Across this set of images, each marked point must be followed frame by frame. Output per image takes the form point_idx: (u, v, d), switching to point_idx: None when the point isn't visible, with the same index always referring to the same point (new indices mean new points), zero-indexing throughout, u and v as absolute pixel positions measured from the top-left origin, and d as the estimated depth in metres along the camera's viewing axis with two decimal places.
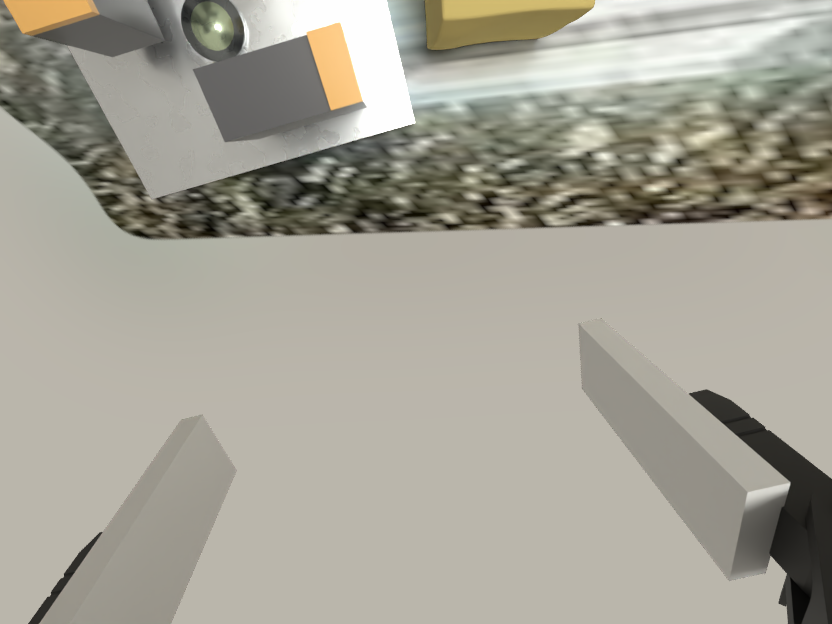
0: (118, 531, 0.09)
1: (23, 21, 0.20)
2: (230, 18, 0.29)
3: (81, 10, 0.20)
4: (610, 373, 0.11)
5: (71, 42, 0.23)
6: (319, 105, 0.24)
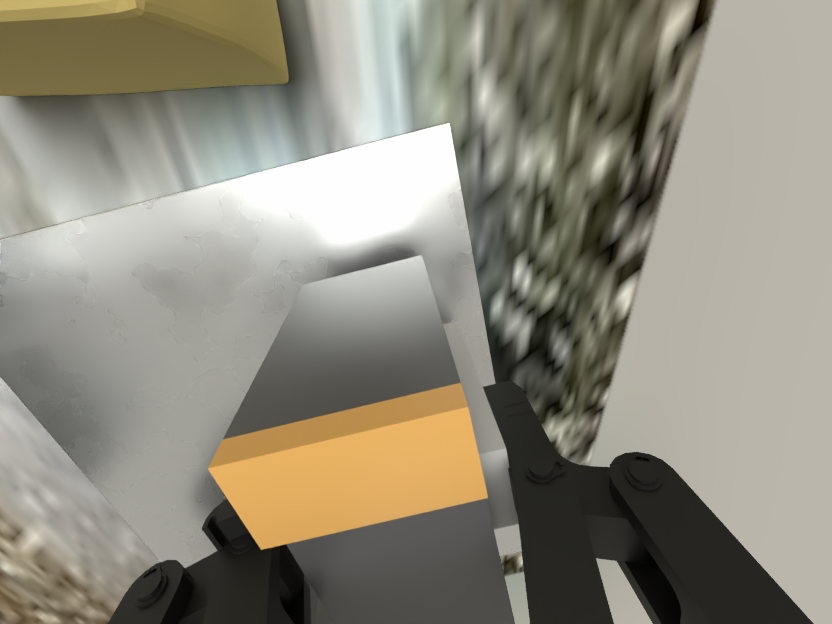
0: None
1: None
2: None
3: None
4: None
5: None
6: None
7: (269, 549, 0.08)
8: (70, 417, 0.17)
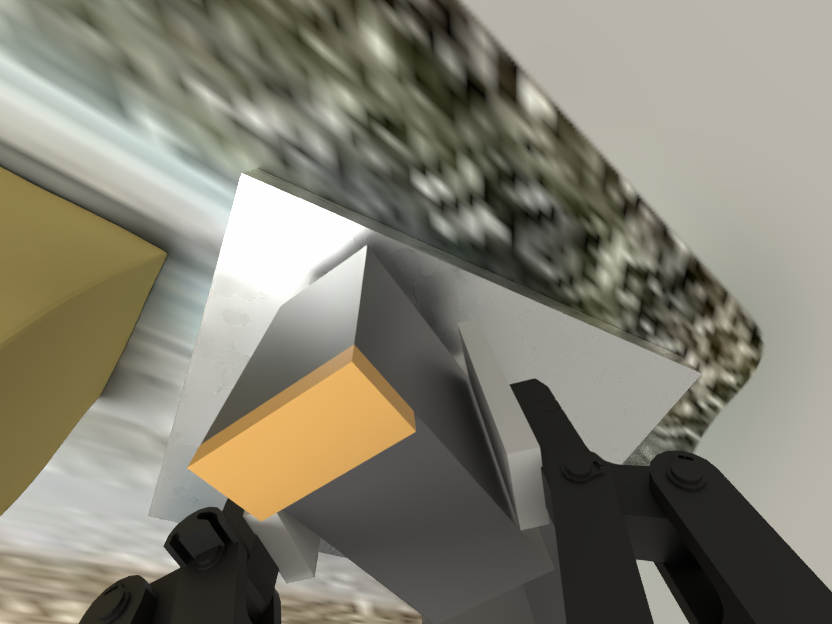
0: None
1: None
2: None
3: None
4: (470, 365, 0.13)
5: None
6: (413, 440, 0.08)
7: (235, 562, 0.08)
8: None
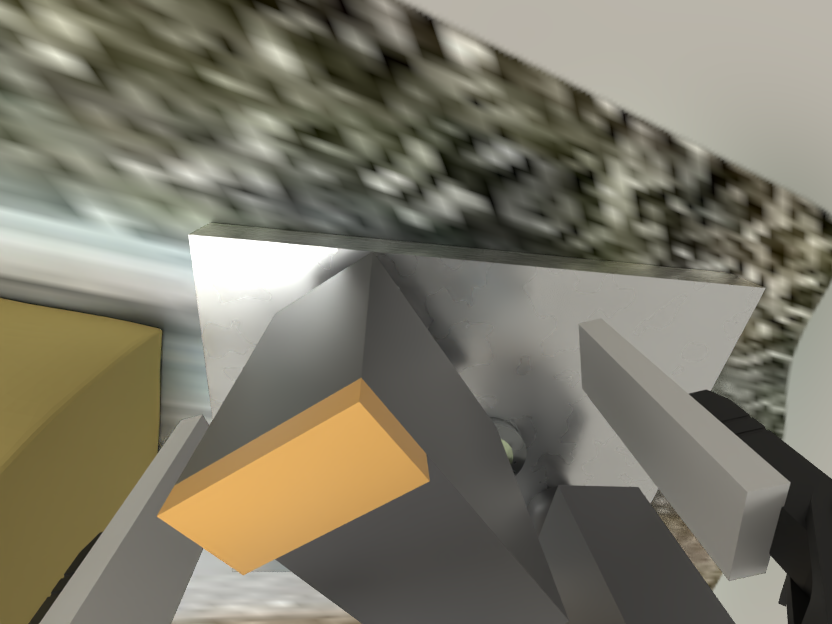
0: (118, 531, 0.09)
1: None
2: None
3: None
4: (610, 373, 0.11)
5: (700, 592, 0.14)
6: (423, 485, 0.07)
7: None
8: None
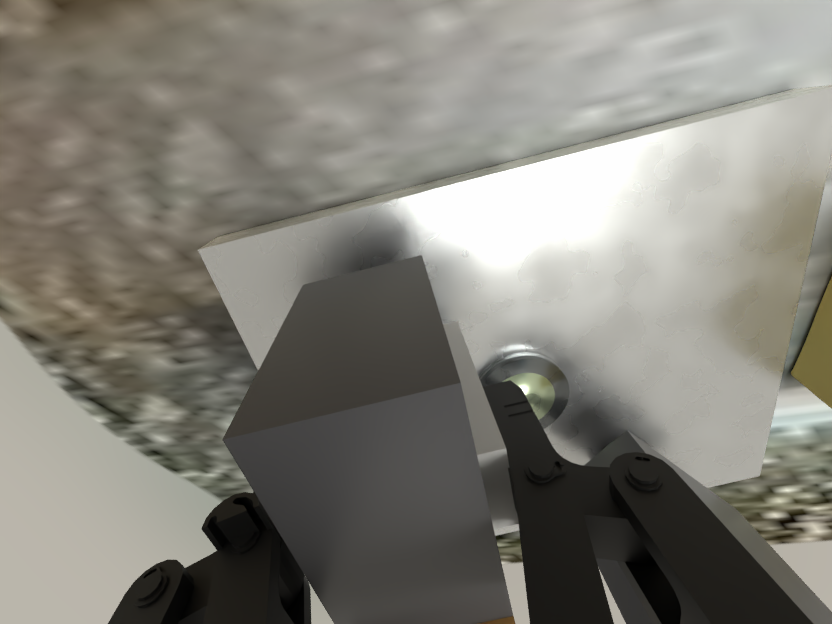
0: None
1: None
2: (554, 390, 0.18)
3: None
4: None
5: None
6: None
7: (269, 549, 0.08)
8: (633, 176, 0.14)
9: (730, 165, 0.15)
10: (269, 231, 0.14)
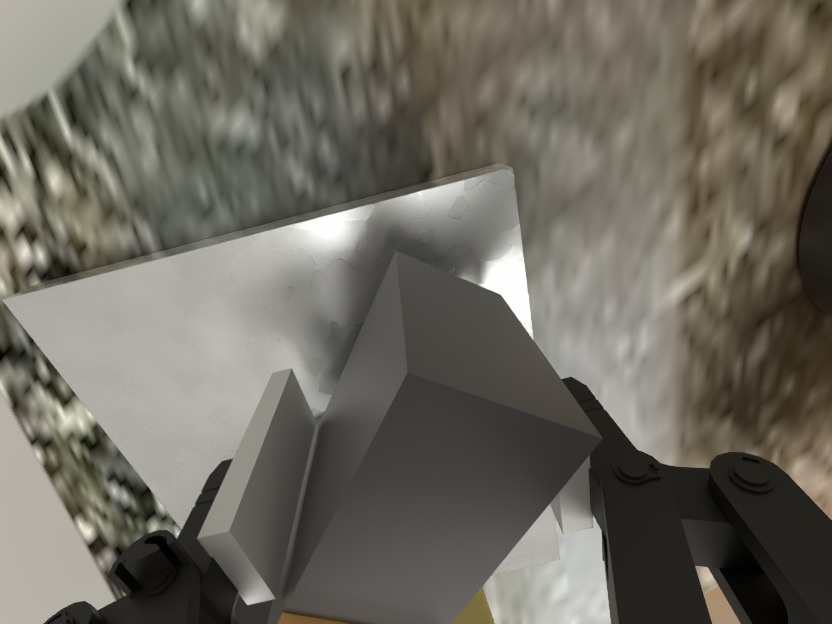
0: (249, 453, 0.11)
1: None
2: None
3: None
4: None
5: None
6: None
7: (187, 585, 0.08)
8: None
9: None
10: (520, 238, 0.15)
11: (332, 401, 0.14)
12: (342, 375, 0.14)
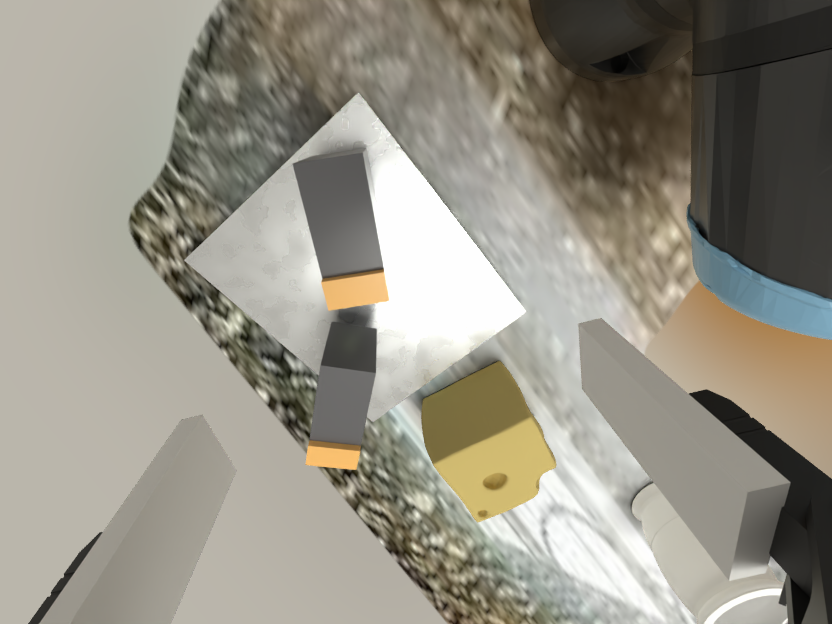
0: (118, 531, 0.09)
1: (332, 303, 0.25)
2: None
3: (381, 299, 0.25)
4: (610, 373, 0.11)
5: None
6: (316, 434, 0.30)
7: None
8: (470, 263, 0.35)
9: (488, 295, 0.37)
10: (382, 124, 0.30)
11: None
12: None
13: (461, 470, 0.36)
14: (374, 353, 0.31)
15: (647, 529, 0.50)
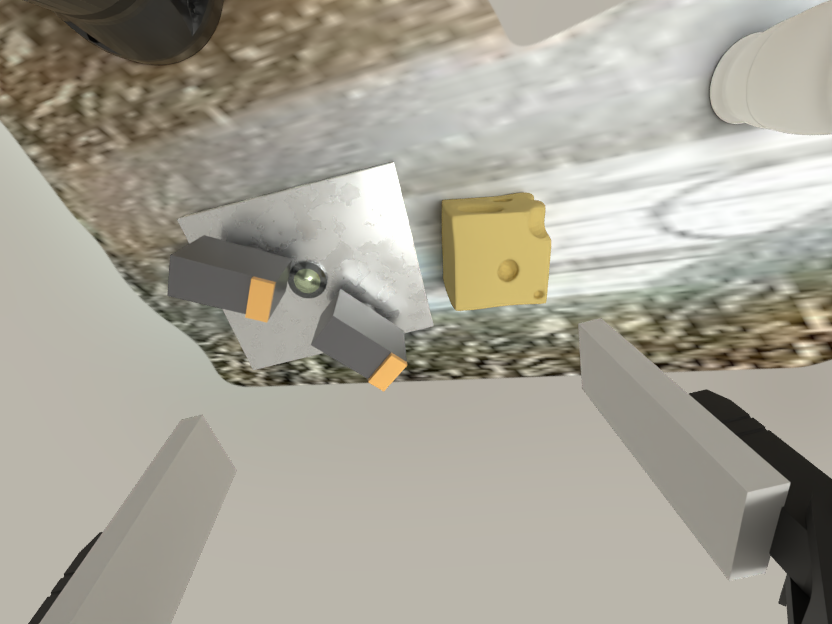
0: (118, 531, 0.09)
1: (262, 318, 0.36)
2: (319, 276, 0.45)
3: (271, 288, 0.35)
4: (610, 373, 0.11)
5: (275, 305, 0.39)
6: (365, 373, 0.40)
7: None
8: (328, 193, 0.42)
9: (363, 189, 0.42)
10: (201, 212, 0.41)
11: None
12: None
13: (476, 292, 0.39)
14: (335, 305, 0.40)
15: (748, 122, 0.39)
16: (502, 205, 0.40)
